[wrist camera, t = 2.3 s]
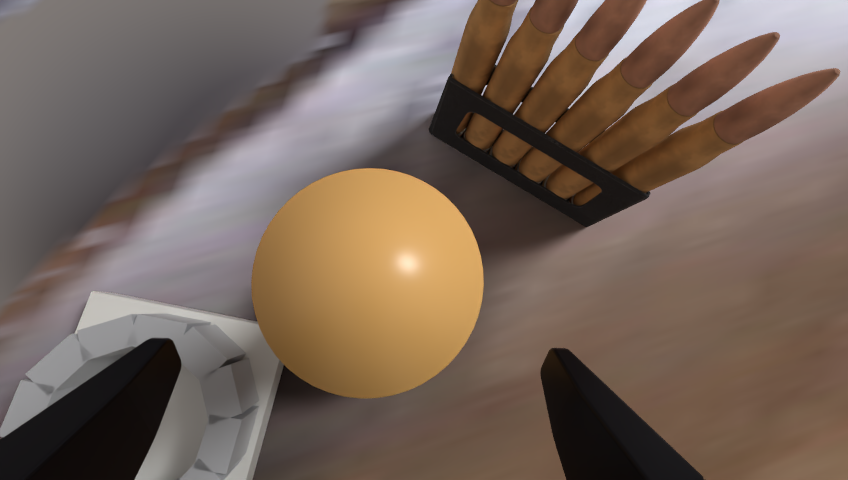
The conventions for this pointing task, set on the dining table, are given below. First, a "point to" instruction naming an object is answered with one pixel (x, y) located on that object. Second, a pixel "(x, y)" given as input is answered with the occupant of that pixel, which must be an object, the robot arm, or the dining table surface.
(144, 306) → the housing
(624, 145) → the ammunition clip
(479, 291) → the tan peg
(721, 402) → the dining table surface
